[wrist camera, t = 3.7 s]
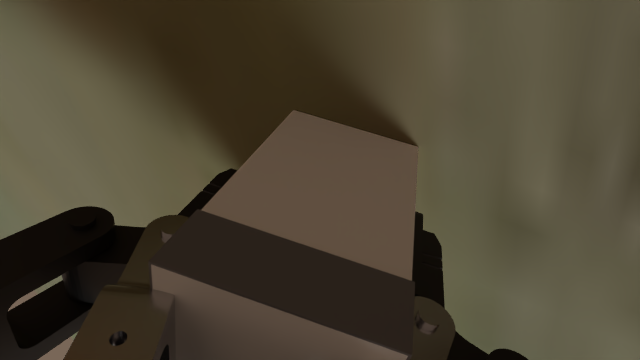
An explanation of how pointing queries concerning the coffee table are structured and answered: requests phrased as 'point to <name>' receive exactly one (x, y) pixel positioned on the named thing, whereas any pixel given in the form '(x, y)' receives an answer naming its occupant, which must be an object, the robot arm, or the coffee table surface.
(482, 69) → the coffee table surface
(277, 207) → the connector plug
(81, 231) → the robot arm
